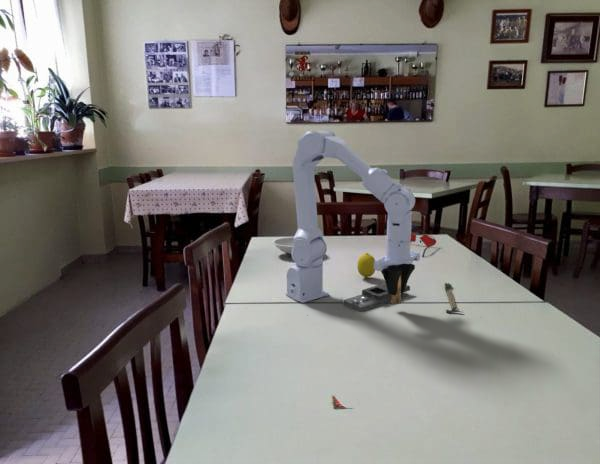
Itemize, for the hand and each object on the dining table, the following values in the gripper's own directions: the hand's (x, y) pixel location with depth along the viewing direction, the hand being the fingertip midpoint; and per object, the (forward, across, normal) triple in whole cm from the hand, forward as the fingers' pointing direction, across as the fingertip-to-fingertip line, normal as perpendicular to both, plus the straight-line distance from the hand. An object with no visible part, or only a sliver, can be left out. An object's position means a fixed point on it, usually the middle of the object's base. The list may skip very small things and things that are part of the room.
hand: (395, 292), depth 112 cm
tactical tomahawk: (+5, +18, -5) cm, 20 cm away
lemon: (+5, +12, +22) cm, 25 cm away
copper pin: (+2, 0, 0) cm, 2 cm away
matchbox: (+5, -36, -20) cm, 42 cm away
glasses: (+5, +49, +35) cm, 60 cm away
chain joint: (+5, +2, +8) cm, 9 cm away
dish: (+5, +11, +56) cm, 57 cm away
